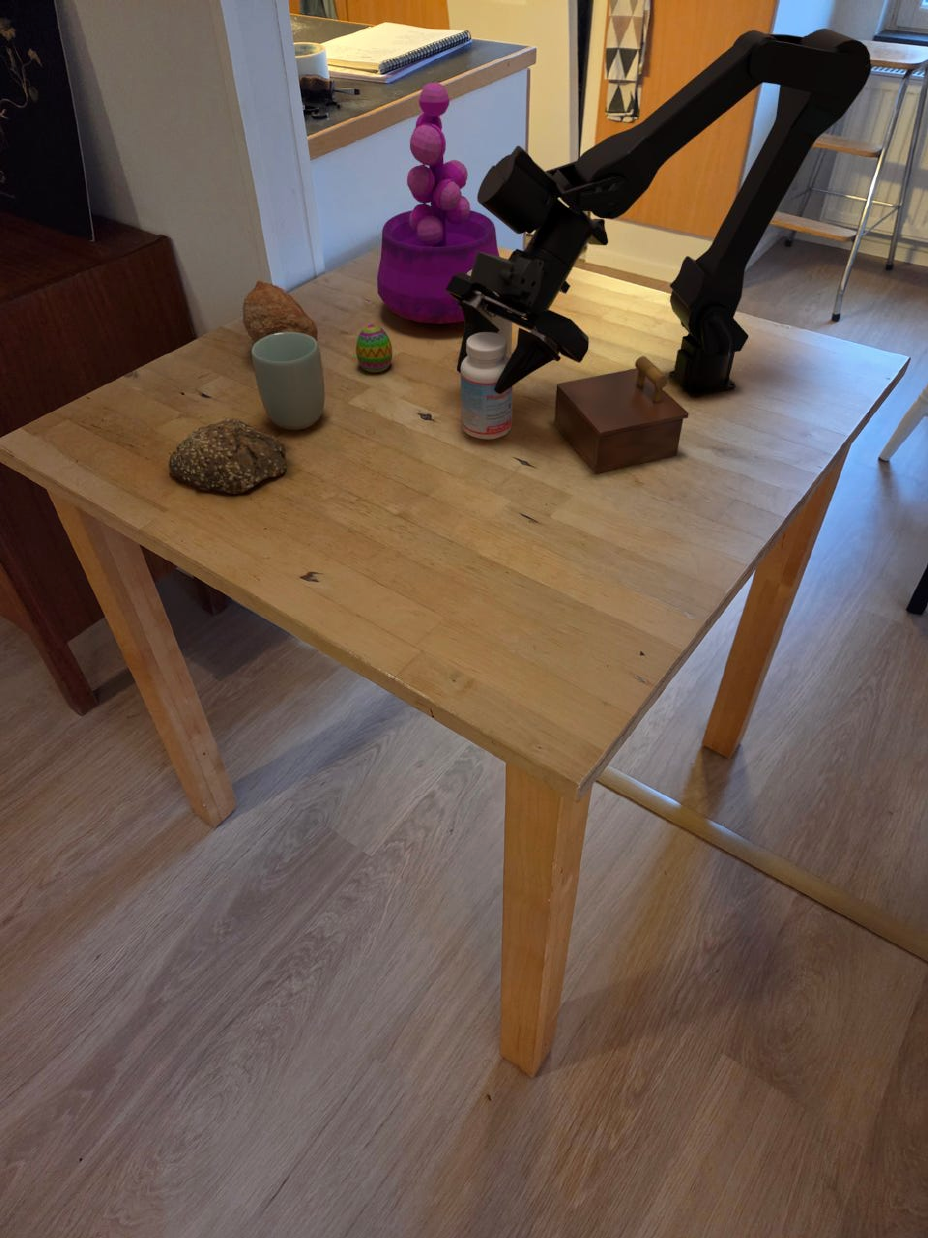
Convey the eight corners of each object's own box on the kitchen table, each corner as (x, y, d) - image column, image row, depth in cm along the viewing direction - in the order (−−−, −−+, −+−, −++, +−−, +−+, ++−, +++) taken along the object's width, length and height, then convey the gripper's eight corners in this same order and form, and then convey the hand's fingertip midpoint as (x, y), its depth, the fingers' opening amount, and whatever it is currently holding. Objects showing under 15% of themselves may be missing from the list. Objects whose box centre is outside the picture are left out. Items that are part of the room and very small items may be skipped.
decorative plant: (504, 340, 121) (508, 100, 100) (375, 341, 122) (352, 102, 101) (501, 285, 135) (505, 64, 114) (385, 286, 135) (367, 66, 114)
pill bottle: (495, 446, 100) (496, 358, 92) (452, 432, 103) (449, 345, 95) (521, 422, 104) (523, 336, 96) (478, 409, 106) (477, 324, 98)
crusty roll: (310, 331, 124) (300, 262, 117) (326, 370, 116) (316, 298, 109) (245, 340, 122) (231, 271, 115) (256, 381, 114) (241, 309, 107)
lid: (639, 371, 104) (643, 340, 101) (688, 417, 96) (694, 385, 94) (556, 388, 102) (558, 357, 99) (599, 437, 94) (603, 405, 91)
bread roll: (156, 473, 98) (144, 436, 95) (233, 426, 106) (225, 390, 102) (235, 510, 93) (225, 472, 90) (310, 457, 100) (304, 420, 97)
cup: (340, 412, 108) (330, 338, 101) (307, 443, 102) (294, 367, 96) (288, 400, 110) (275, 326, 103) (253, 429, 105) (237, 354, 98)
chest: (630, 407, 107) (634, 372, 104) (676, 455, 100) (683, 419, 96) (553, 423, 105) (556, 388, 102) (595, 473, 97) (599, 437, 94)
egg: (364, 378, 114) (360, 336, 110) (353, 362, 117) (348, 321, 113) (398, 371, 115) (395, 328, 111) (386, 355, 118) (382, 314, 114)
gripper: (454, 198, 94) (385, 325, 96) (578, 243, 84) (497, 383, 86) (505, 250, 103) (440, 365, 106) (622, 297, 93) (548, 422, 96)
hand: (477, 382), depth 98 cm, fingers closed on pill bottle, 6 cm apart
